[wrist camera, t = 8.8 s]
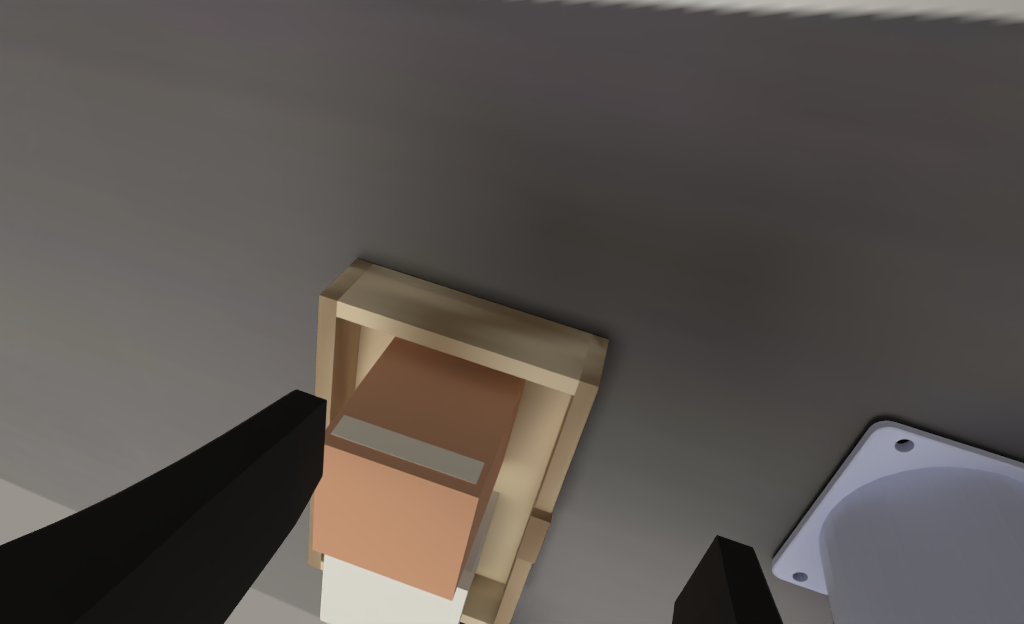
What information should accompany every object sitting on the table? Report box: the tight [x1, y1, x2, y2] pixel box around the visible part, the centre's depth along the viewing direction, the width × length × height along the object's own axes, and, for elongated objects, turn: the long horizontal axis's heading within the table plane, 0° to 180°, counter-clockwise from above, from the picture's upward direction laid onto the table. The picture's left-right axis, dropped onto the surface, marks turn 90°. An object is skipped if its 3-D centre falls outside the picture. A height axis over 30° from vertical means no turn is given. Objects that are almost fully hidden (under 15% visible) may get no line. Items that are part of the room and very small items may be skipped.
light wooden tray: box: [308, 259, 609, 624], centre depth 24 cm, size 9×14×3 cm, turn 168°
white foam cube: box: [320, 491, 499, 624], centre depth 25 cm, size 5×5×4 cm
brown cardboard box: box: [312, 336, 526, 601], centre depth 20 cm, size 5×5×6 cm
